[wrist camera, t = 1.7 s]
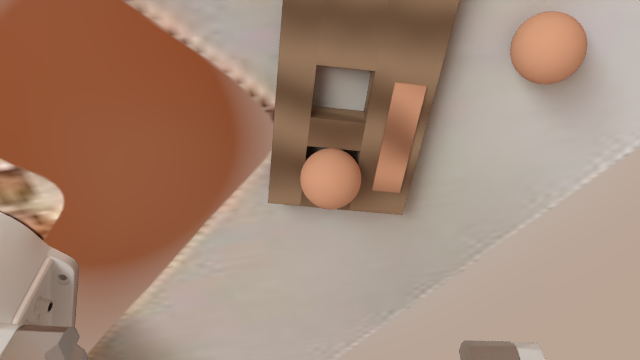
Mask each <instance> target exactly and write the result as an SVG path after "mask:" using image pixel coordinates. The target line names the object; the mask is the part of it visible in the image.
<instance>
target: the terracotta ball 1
mask: <svg viewBox="0 0 640 360" xmlns="http://www.w3.org/2000/svg"><path fill="white" fill-rule="evenodd" d="M300 182H301V187H302V190H303V192H304V194H305V196H306V197H307V198H308V199H309V200H310V201H311V202H312V203H313V204H315V205H316V206H318V207H321V208H324V209H337V208H341V207H343V206H345V205H347V204H348V203H350V202H351V201H352V200H353V199H354V198H355V197H356V195H357V193H358V191H359V189H360V185H361V172H360V169H359V166H358V164H357V162H356V161H355V160H354V158H353V157H352V156H351V155H349V154H348V153H346V152H344V151H342V150H340V149H334V148H327V149H322V150H319V151H317V152H315V153H314V154H312V155H311V156H310V157H309V158H308V159H307V160H306V162H305V163H304V165H303V167H302V170H301V175H300Z"/></svg>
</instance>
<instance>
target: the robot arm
mask: <svg viewBox="0 0 640 360" xmlns="http://www.w3.org/2000/svg"><path fill="white" fill-rule="evenodd" d="M78 274H79V265H78V263H77V262H76V261H75V260H74V259H73V258H72V257H70V256H68V255H66V254H64V253H62V252H60V251H58V250H56V249H54V248H52V247H50V246H49V245H47V244H46V243H45V242H44V241H43V240H42V239H40V238H39V237H38V236H37V235H36V234H35V233H34V232H33V231H31V230H30V229H29V228H27V227H26V226H25V225H23V224H22V223H20V222H18V221H17V220H15V219H13V218H11V217H9V216H7V215H5V214H3V213H1V212H0V360H88V357H87V354H86V352H85V350H84V349H83V348H81V347H80V346H79V345H77V344H76V343H77V341H78V339H79V334H78V332H77V330H76V328H75V316H76V301H77V288H78ZM459 353H460V358H461V360H545V357H544V355H543V352H542V349H541V348H540V346H539V345H538V344H537V343H511V342H507V341H506V342H505V341H464V342H462V343H461V347H460V349H459Z"/></svg>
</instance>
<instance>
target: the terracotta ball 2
mask: <svg viewBox="0 0 640 360" xmlns="http://www.w3.org/2000/svg"><path fill="white" fill-rule="evenodd" d="M586 50H587V38H586V34H585V31H584V29H583V27H582V26H581V25H580V23H579V22H578V21H577V20H576V19H574V18H573V17H571V16H569V15H568V14H565V13H561V12H553V11H552V12H544V13H540V14H537V15H535V16H533V17H531V18H529V19H528V20H527V21H525V22H524V23H523V24H522V25H521V26H520V27H519V28H518V30H517V31H516V33H515V35H514V37H513V39H512V43H511V49H510V55H511V60H512V63H513V65H514V67H515V69H516V70H517V72H518V73H519V74H520V75H521V76H522V77H524V78H525V79H527V80H529V81H531V82H534V83H539V84H551V83H556V82H559V81H562V80H564V79H566V78H567V77H569V76H570V75H572V74H573V73H574V72H575V71H576V70H577V69H578V68H579V66H580V65H581V63H582V62H583V60H584V58H585V55H586Z"/></svg>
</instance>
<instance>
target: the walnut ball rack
mask: <svg viewBox="0 0 640 360" xmlns="http://www.w3.org/2000/svg"><path fill="white" fill-rule="evenodd" d="M459 1H460V0H283V6H282V20H281V33H280V47H279V61H278V74H277V88H276V102H275V116H274V129H273V143H272V157H271V170H270V184H269V198H268V203H274V204H285V205H297V206H308V207H318V206H316V205H315V204H313V203H312V202H311V201H310V200H309V199H308V198H307V197H306V196H305V194H304V192H303V190H302V187H301V182H300V175H301V170H302V167H303V165H304V163H305V159H306V150H307V146H313V147H324V148H334V149H344V150H355V151H357V152H356V157H355V161H356V162H357V164H358V166H359V169H360V172H361V185H360V189H359V191H358V193H357V195H356V197H355V198H354V199H353V200H352V201H351V202H350V203H348V204H347V205H345V206H343V207H341V208H337V209H342V210H353V211H365V212H376V213H387V214H399V215H403V211H404V208H405V204H406V200H407V196H408V193H409V189H410V185H411V181H412V177H413V174H414V170H415V166H416V162H417V159H418V155H419V151H420V147H421V144H422V140H423V136H424V132H425V129H426V125H427V121H428V117H429V114H430V110H431V106H432V102H433V99H434V95H435V91H436V87H437V83H438V80H439V76H440V72H441V68H442V65H443V61H444V57H445V53H446V50H447V46H448V42H449V38H450V35H451V31H452V27H453V23H454V20H455V16H456V12H457V8H458V5H459ZM316 65H322V66H331V67H341V68H350V69H359V70H369V71H371V76H370V81H369V86H368V92H367V97H366V103H365V108H364V111H355V110H345V109H335V108H326V107H316V106H312V99H313V91H314V82H315V74H316ZM319 208H321V207H319Z"/></svg>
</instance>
